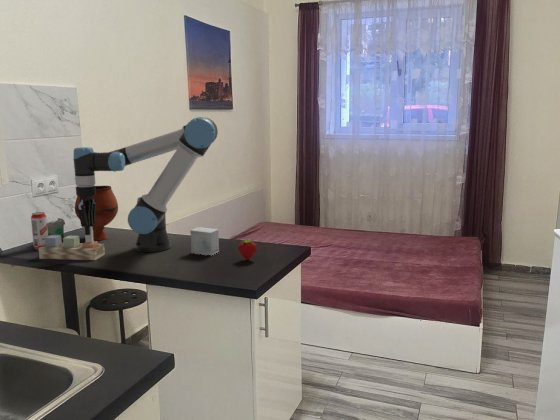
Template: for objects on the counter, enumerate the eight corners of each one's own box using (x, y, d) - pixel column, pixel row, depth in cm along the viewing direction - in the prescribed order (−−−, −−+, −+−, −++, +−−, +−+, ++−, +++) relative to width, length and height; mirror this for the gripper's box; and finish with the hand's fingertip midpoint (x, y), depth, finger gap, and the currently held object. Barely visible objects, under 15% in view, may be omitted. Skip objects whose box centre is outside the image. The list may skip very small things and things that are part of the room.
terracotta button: (98, 250, 211) (97, 241, 210) (93, 253, 206) (92, 244, 205) (88, 250, 211) (87, 241, 210) (82, 253, 207) (81, 243, 206)
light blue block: (61, 244, 212) (61, 235, 211) (56, 247, 207) (55, 238, 207) (51, 244, 212) (50, 235, 212) (45, 247, 208) (44, 237, 207)
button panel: (104, 254, 213) (104, 243, 212) (95, 260, 204) (94, 249, 203) (51, 252, 215) (50, 242, 215) (39, 258, 207) (38, 248, 206)
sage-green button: (79, 245, 211) (79, 235, 210) (74, 248, 207) (73, 238, 206) (69, 244, 211) (68, 235, 211) (63, 247, 207) (63, 238, 206)
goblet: (128, 236, 243) (125, 185, 238) (95, 245, 227) (91, 191, 222) (102, 232, 253) (98, 183, 248) (68, 240, 237) (64, 187, 232)
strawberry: (257, 262, 202) (257, 237, 200) (238, 262, 201) (238, 238, 199) (256, 258, 207) (256, 234, 206) (238, 258, 206) (237, 235, 205)
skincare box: (190, 253, 214) (189, 229, 212) (199, 250, 220) (198, 226, 218) (211, 256, 210) (210, 232, 208) (219, 252, 216) (219, 228, 214)
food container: (55, 245, 227) (53, 224, 225) (43, 244, 228) (41, 223, 226) (72, 239, 239) (70, 218, 237) (60, 238, 240) (58, 218, 238)
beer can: (30, 249, 220) (27, 214, 217) (40, 246, 226) (37, 211, 223) (42, 250, 218) (39, 214, 215) (52, 247, 224) (49, 212, 221)
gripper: (84, 183, 210) (88, 238, 215) (68, 187, 197) (73, 245, 202) (101, 183, 209) (105, 238, 214) (86, 188, 197) (90, 246, 201)
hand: (89, 242), depth 208 cm, fingers closed
